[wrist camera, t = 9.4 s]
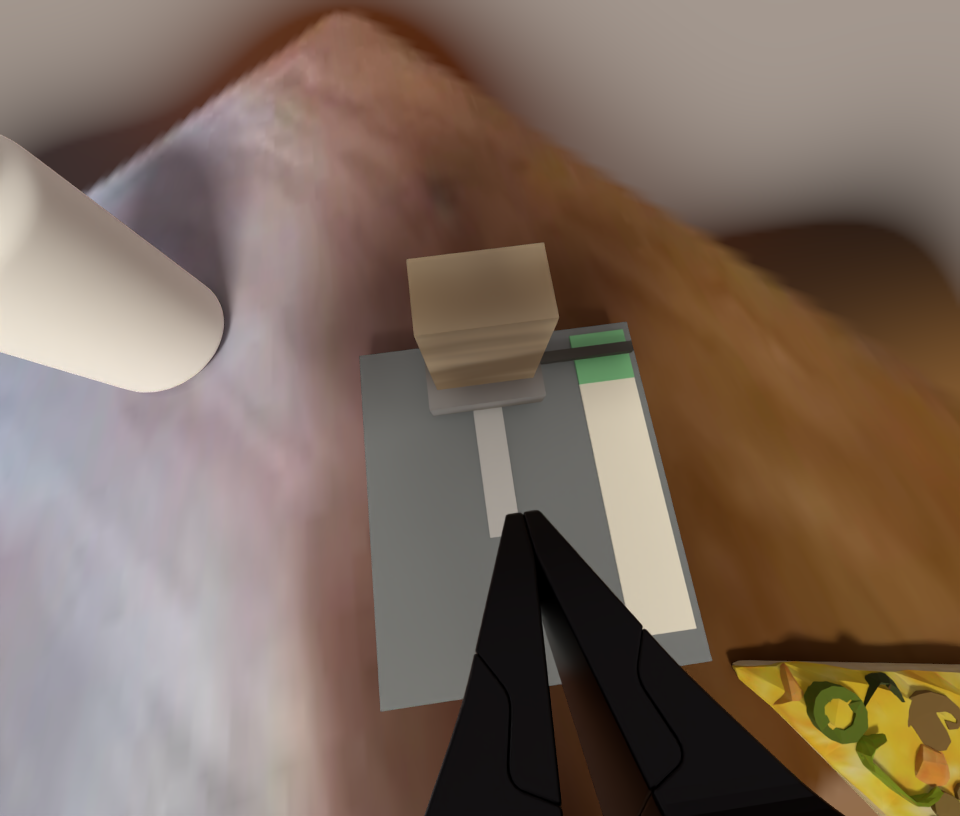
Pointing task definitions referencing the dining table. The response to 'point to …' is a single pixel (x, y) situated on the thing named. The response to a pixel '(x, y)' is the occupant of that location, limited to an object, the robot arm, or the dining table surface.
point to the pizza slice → (874, 726)
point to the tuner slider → (488, 327)
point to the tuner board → (513, 509)
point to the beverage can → (93, 287)
